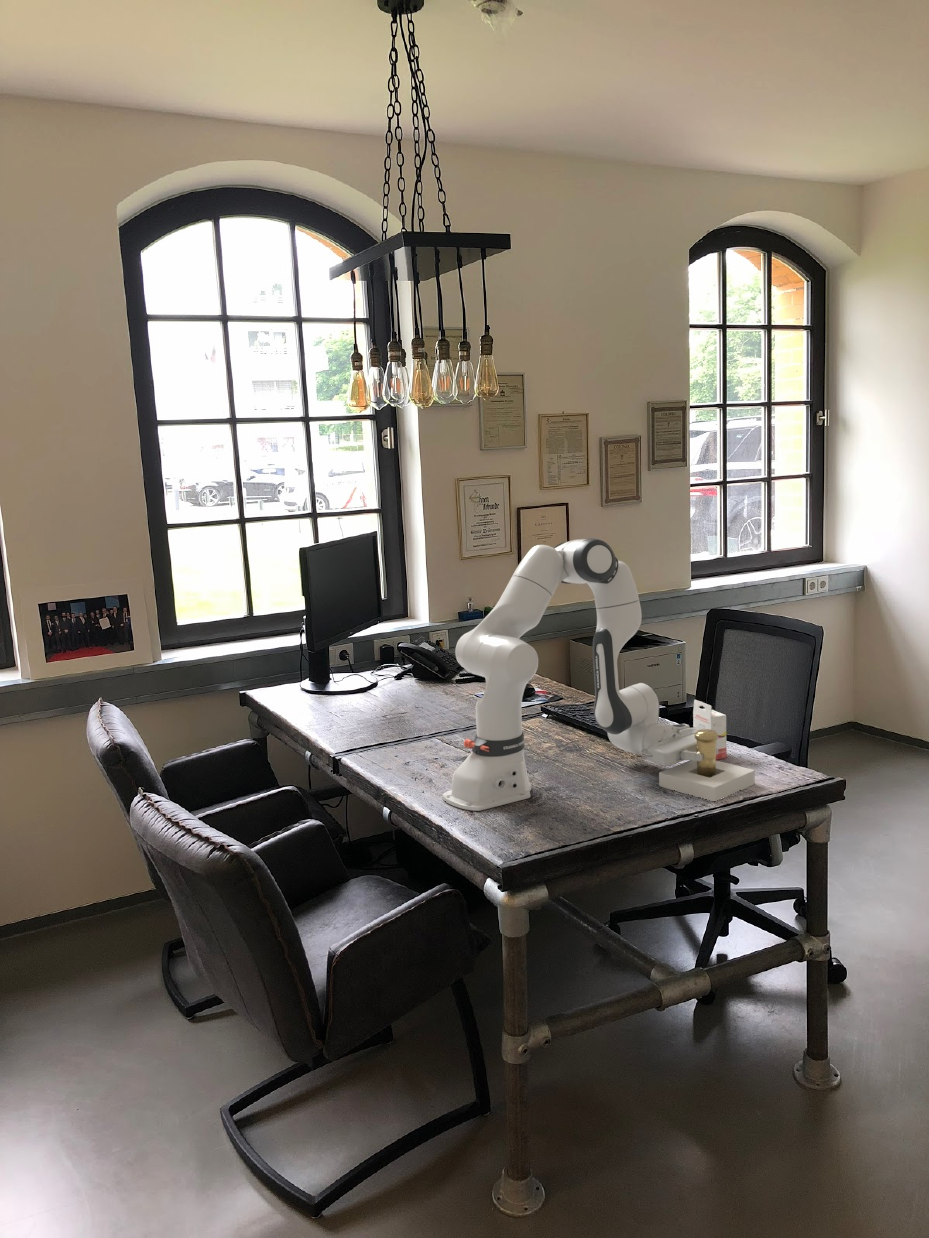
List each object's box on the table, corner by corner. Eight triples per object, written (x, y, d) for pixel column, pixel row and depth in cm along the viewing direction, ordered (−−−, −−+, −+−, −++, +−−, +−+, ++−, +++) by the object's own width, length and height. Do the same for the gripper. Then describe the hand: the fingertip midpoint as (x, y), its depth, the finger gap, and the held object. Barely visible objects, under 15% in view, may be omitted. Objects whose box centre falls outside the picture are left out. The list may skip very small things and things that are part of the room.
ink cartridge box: (727, 758, 256) (727, 703, 253) (711, 761, 254) (711, 706, 251) (708, 749, 264) (707, 696, 261) (692, 752, 262) (691, 699, 259)
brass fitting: (708, 785, 233) (708, 736, 231) (690, 779, 237) (689, 732, 235) (722, 779, 236) (722, 731, 234) (704, 774, 241) (703, 727, 238)
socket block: (714, 802, 226) (714, 787, 225) (659, 786, 238) (659, 772, 237) (754, 784, 236) (754, 770, 235) (700, 769, 248) (699, 756, 247)
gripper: (636, 740, 238) (682, 752, 228) (688, 722, 251) (734, 732, 241) (636, 765, 240) (682, 778, 229) (688, 745, 252) (734, 756, 242)
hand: (709, 754), depth 235 cm, fingers closed on brass fitting, 4 cm apart
